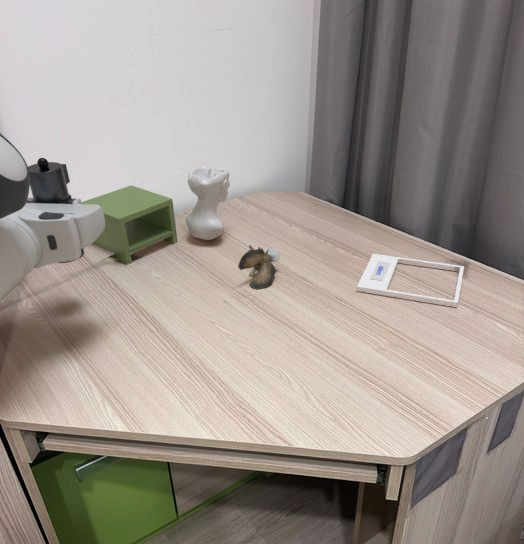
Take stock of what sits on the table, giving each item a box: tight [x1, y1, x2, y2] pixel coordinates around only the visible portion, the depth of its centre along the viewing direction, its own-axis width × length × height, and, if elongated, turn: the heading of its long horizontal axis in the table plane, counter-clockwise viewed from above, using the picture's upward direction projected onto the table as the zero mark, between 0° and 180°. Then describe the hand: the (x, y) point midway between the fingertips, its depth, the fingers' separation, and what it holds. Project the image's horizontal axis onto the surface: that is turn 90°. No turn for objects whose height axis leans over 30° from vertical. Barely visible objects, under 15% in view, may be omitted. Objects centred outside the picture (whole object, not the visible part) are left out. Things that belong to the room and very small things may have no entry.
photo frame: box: [356, 253, 465, 308], centre depth 103 cm, size 15×1×18 cm
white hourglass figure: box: [185, 166, 231, 241], centre depth 118 cm, size 10×11×15 cm
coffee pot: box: [28, 157, 85, 264], centre depth 89 cm, size 10×6×16 cm, turn 174°
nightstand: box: [81, 185, 179, 266], centre depth 117 cm, size 14×14×10 cm
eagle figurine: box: [237, 244, 281, 290], centre depth 104 cm, size 8×7×9 cm
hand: (55, 202), depth 88 cm, fingers closed on coffee pot, 6 cm apart
